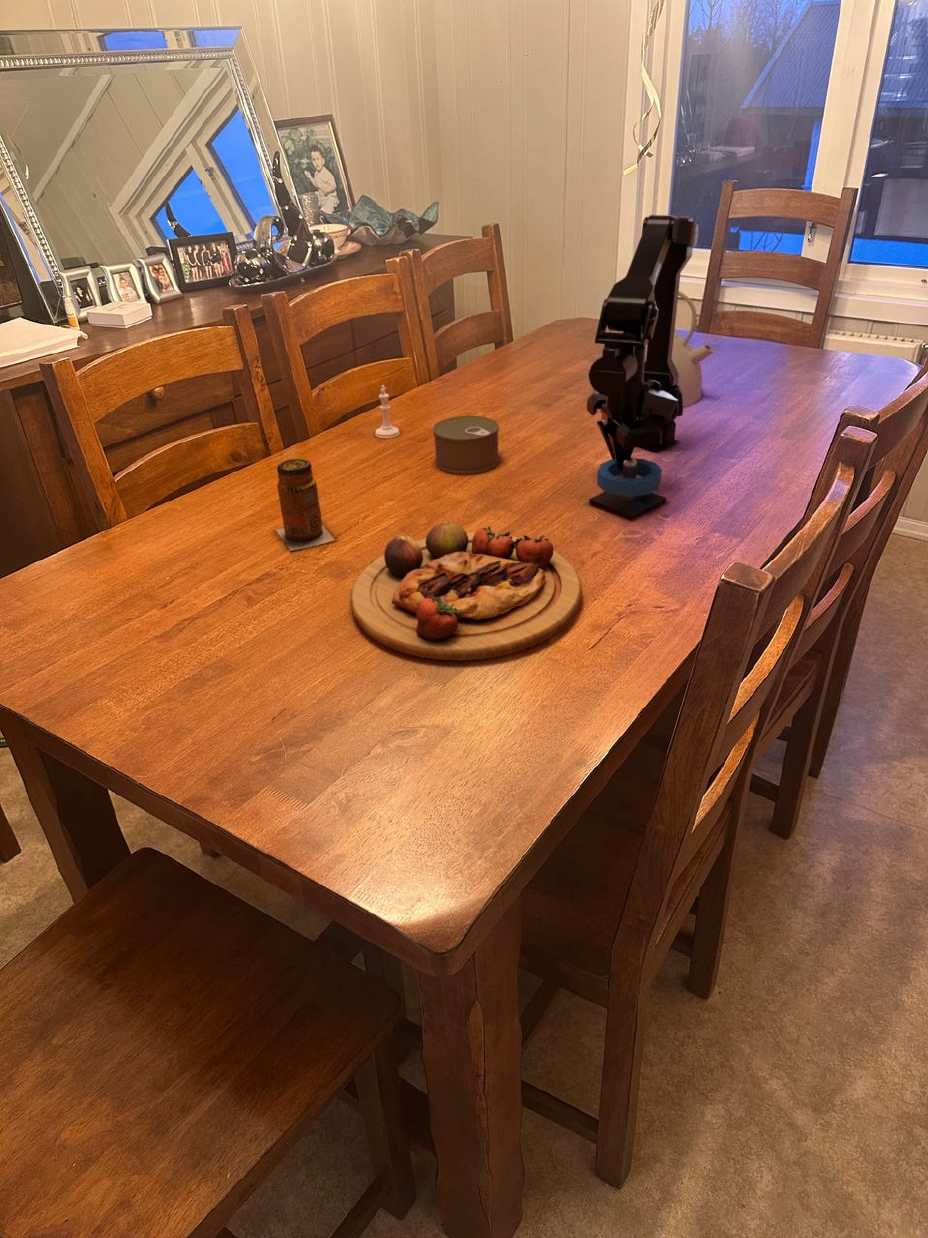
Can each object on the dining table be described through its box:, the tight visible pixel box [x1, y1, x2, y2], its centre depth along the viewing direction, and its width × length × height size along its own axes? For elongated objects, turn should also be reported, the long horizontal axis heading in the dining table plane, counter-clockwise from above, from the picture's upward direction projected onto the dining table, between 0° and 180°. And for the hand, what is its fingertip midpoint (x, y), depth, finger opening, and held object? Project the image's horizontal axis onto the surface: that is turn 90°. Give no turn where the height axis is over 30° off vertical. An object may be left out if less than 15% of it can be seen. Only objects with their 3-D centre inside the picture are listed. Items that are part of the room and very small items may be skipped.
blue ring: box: [596, 457, 663, 497], centre depth 142 cm, size 10×10×2 cm
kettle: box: [594, 290, 715, 408], centre depth 184 cm, size 25×23×22 cm
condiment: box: [275, 458, 336, 552], centre depth 137 cm, size 7×8×12 cm
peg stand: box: [588, 456, 667, 521], centre depth 142 cm, size 9×9×8 cm
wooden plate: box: [349, 519, 583, 661], centre depth 119 cm, size 32×32×8 cm
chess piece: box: [374, 384, 401, 439], centre depth 174 cm, size 5×5×10 cm
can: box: [432, 415, 500, 476], centre depth 161 cm, size 12×12×7 cm
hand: (620, 467), depth 146 cm, fingers closed on blue ring, 2 cm apart
